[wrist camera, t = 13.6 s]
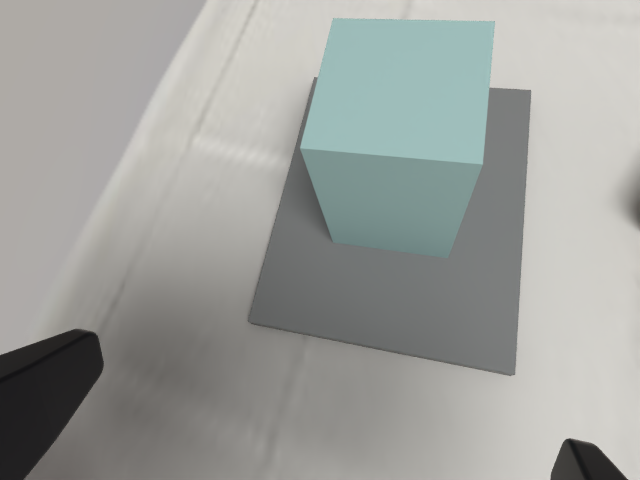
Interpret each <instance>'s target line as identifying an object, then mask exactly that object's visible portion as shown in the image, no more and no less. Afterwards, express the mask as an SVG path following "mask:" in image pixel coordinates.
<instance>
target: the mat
mask: <svg viewBox="0 0 640 480" xmlns="http://www.w3.org/2000/svg"><path fill="white" fill-rule="evenodd" d="M317 79H318V77H314V80H313V84H312V88H311V92H310V95H309V99H308V103H307V106H306V110H305V114H304V117H303V121H302V125H301V128H300V132H299V136H298V139H297V143H296V147H295V150H294V154H293V158H292V161H291V165H290V169H289V172H288V176H287V180H286V183H285V187H284V191H283V194H282V198H281V202H280V205H279V209H278V213H277V216H276V220H275V224H274V227H273V231H272V235H271V238H270V242H269V246H268V249H267V253H266V257H265V260H264V264H263V268H262V271H261V275H260V279H259V282H258V286H257V290H256V293H255V297H254V301H253V305H252V308H251V312H250V316H249V319H248V322H250V323H251V324H254V325H259V326H264V327H269V328H274V329H279V330H284V331H289V332H294V333H299V334H304V335H309V336H314V337H319V338H324V339H329V340H334V341H339V342H344V343H349V344H354V345H359V346H364V347H369V348H374V349H379V350H384V351H389V352H394V353H399V354H404V355H409V356H414V357H419V358H424V359H429V360H434V361H439V362H444V363H449V364H454V365H459V366H464V367H469V368H474V369H479V370H484V371H489V372H494V373H499V374H504V375H509V376H511V375H515V366H516V348H517V331H518V313H519V296H520V278H521V260H522V243H523V225H524V208H525V190H526V173H527V155H528V137H529V120H530V102H531V90H519V89H502V88H489V97H488V109H487V121H486V133H485V145H484V157H483V165H482V168H481V171H480V173H479V176H478V179H477V181H476V184H475V187H474V190H473V192H472V195H471V198H470V200H469V203H468V206H467V208H466V211H465V214H464V216H463V219H462V222H461V224H460V227H459V230H458V232H457V235H456V238H455V241H454V243H453V246H452V249H451V251H450V254H449V257H448V258H443V257H435V256H428V255H421V254H413V253H406V252H399V251H392V250H384V249H377V248H370V247H362V246H355V245H348V244H341V243H333V241H332V238H331V235H330V232H329V229H328V226H327V224H326V221H325V218H324V215H323V212H322V209H321V207H320V204H319V201H318V198H317V195H316V192H315V190H314V187H313V184H312V181H311V178H310V175H309V173H308V170H307V167H306V164H305V161H304V158H303V155H302V153H301V150H300V146H301V142H302V138H303V134H304V130H305V126H306V123H307V119H308V115H309V111H310V107H311V103H312V99H313V95H314V91H315V87H316V83H317Z"/></svg>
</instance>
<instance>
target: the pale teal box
mask: <svg viewBox="0 0 640 480" xmlns="http://www.w3.org/2000/svg"><path fill="white" fill-rule="evenodd" d="M494 26H495V21H446V20H394V19H342V18H333V21H332V25H331V29H330V33H329V36H328V40H327V44H326V48H325V52H324V56H323V60H322V64H321V68H320V72H319V76H318V79H317V83H316V87H315V91H314V95H313V99H312V103H311V107H310V111H309V115H308V119H307V123H306V126H305V130H304V134H303V138H302V142H301V146H300V150H301V153H302V155H303V158H304V161H305V164H306V167H307V170H308V173H309V175H310V178H311V181H312V184H313V187H314V190H315V192H316V195H317V198H318V201H319V204H320V207H321V209H322V212H323V215H324V218H325V221H326V224H327V226H328V229H329V232H330V235H331V238H332V241H333V243H341V244H348V245H355V246H362V247H370V248H377V249H384V250H392V251H399V252H406V253H413V254H421V255H428V256H435V257H443V258H448V257H449V254H450V251H451V249H452V246H453V243H454V241H455V238H456V235H457V232H458V230H459V227H460V224H461V222H462V219H463V216H464V214H465V211H466V208H467V206H468V203H469V200H470V198H471V195H472V192H473V190H474V187H475V184H476V181H477V179H478V176H479V173H480V171H481V168H482V165H483V157H484V145H485V133H486V121H487V109H488V97H489V85H490V73H491V61H492V50H493V38H494Z"/></svg>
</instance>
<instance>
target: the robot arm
mask: <svg viewBox="0 0 640 480" xmlns="http://www.w3.org/2000/svg"><path fill="white" fill-rule="evenodd" d="M103 367H104V361H103V357H102V352H101V347H100V343H99V338H98V336H97V335H96V333H94V332H91V331H87V330H82V329H74V330H71V331H68V332H65V333H62V334H59V335H57V336H54V337H51V338H48V339H45V340H42V341H39V342H37V343H34V344H31V345H28V346H25V347H22V348H19V349H17V350H14V351H11V352H8V353H5V354H2V355H0V480H24V479H25V478H26V476H27V475H28V474H29V473H30V471H31V470H32V469H33V468H34V466H35V465H36V464H37V463H38V462H39V460H40V459H41V458H42V457H43V455H44V454H45V453H46V452H47V450H48V449H49V448H50V447H51V445H52V444H53V443H54V442H55V440H56V439H57V437H58V436H59V435H60V433H61V432H62V430H63V429H64V428H65V426H66V425H67V423H68V422H69V420H70V419H71V417H72V416H73V414H74V413H75V411H76V410H77V409H78V407H79V406H80V404H81V403H82V401H83V400H84V398H85V397H86V395H87V394H88V392H89V391H90V390H91V388H92V387H93V385H94V384H95V382H96V381H97V379H98V378H99V376H100V375H101V373H102V370H103ZM551 480H628V479H627V478H626V477H625V476H624V475H623V474H622V473H621V471H620V470H619V469H618V468H617V467H616V466H615V465H614V464H613V463H612V462H611V461H610V460H609V459H608V457H607V456H606V455H605V454H604V453H603V452H602V451H601V450H600V449H599V448H598V447H597V446H596V445H594V444H592V443H589V442H584V441H580V440H575V439H571V438H570V439H566V440H565V441H564V442H563V444H562V446H561V449H560V451H559V454H558V456H557V459H556V461H555V464H554V467H553V469H552V472H551Z"/></svg>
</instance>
